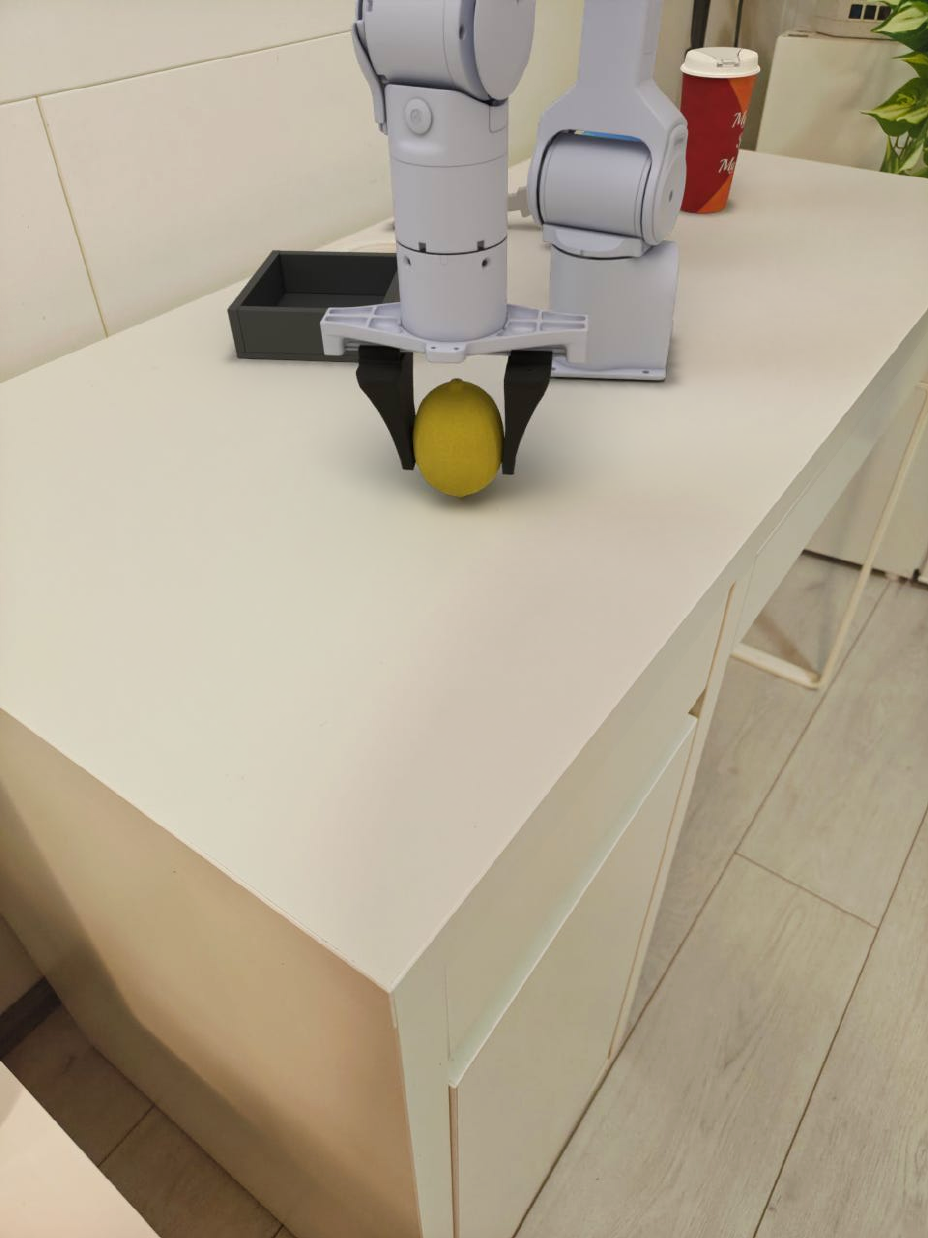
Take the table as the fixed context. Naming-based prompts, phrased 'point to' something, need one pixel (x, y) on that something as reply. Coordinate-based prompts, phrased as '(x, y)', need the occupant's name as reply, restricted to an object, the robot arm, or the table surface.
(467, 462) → the lemon
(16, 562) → the table surface
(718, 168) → the paper cup
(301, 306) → the dark gray open box
